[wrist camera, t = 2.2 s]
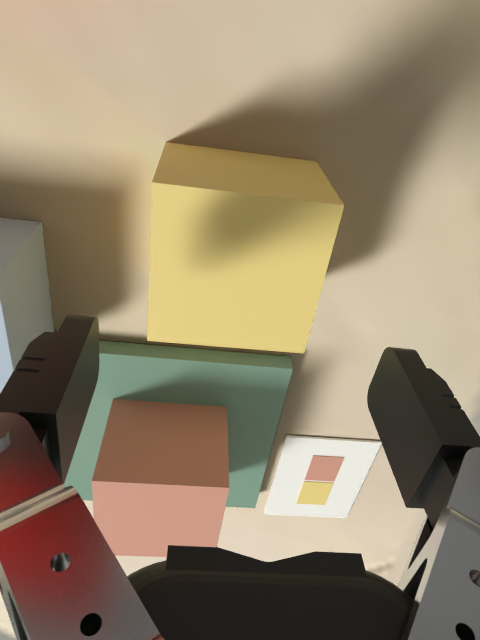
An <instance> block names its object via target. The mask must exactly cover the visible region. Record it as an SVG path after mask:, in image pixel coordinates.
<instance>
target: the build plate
mask: <svg viewBox="0 0 480 640" xmlns="http://www.w3.org/2000/svg"><path fill="white" fill-rule="evenodd" d="M292 371H293V366H292V362H291V357H289V356H277V355H265V354H254V353H242V352H230V351H218V350H207V349H195V348H183V347H172V346H160V345H148V344H137V343H125V342H113V341H101V340H99V375H98V381H97V385H96V388H95V391H94V394H93V397H92V400H91V403H90V406H89V409H88V413H87V416H86V419H85V422H84V425H83V428H82V431H81V434H80V437H79V440H78V443H77V446H76V449H75V452H74V455H73V458H72V461H71V464H70V467H69V471H68V474H67V477H66V480H65V483H64V485H65V486H66V487H68V486H73V487H74V488H75V489H76V490H77V492H78V493H79V495H80V497H81V498H82V500H91V501H93V493H92V478H93V474H94V470H95V466H96V463H97V459H98V455H99V451H100V447H101V443H102V439H103V435H104V432H105V428H106V424H107V420H108V416H109V412H110V408H111V404H112V401H113V399H122V400H136V401H151V402H165V403H179V404H193V405H207V406H221V407H227V424H228V458H229V492H228V497H227V501H226V506H225V507H246V508H255V506H256V502H257V499H258V495H259V492H260V488H261V484H262V481H263V477H264V473H265V470H266V466H267V462H268V459H269V455H270V451H271V448H272V444H273V440H274V437H275V433H276V430H277V426H278V422H279V419H280V415H281V411H282V408H283V404H284V400H285V397H286V393H287V389H288V386H289V382H290V378H291V375H292Z"/></svg>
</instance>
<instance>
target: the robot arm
mask: <svg viewBox="0 0 480 640" xmlns="http://www.w3.org/2000/svg"><path fill="white" fill-rule="evenodd" d="M98 375H99V325H98V319H97V318H96V317H86V316H76V315H67V316H66V318H65V320H64V322H63V324H62V326H61V328H60V330H59V332H58V333H55V332H43V333H42V334H41V335H39V336H38V337H37V338H35V339H34V340H33V341H31V342H30V343H29V344H28V346H27V348H26V350H25V351H24V353H23V355H22V358H21V359H20V360H19V362H18V364H17V365H16V367H15V371H13V372H12V374H11V376H10V378H9V379H8V381H7V383H6V385H5V386H4V388H3V390H2V392H1V393H0V592H1V595H2V598H3V600H4V603H5V606H6V609H7V612H8V615H9V618H10V621H11V624H12V627H13V630H14V633H15V636H16V638H17V640H480V437H479V435H478V433H477V432H476V430H475V428H474V427H473V425H472V424H471V422H470V420H469V419H468V417H467V415H466V414H465V412H464V411H463V410H461V406H460V404H459V403H458V401H457V399H456V398H454V394H453V393H452V391H451V390H450V388H449V386H448V385H447V383H446V382H445V381H444V380H443V379H442V378H441V377H440V376H439V375H438V374H437V373H435V372H434V371H433V370H432V369H429V368H426V366H425V365H424V363H423V361H422V360H421V358H420V356H419V354H418V353H417V351H415V350H412V349H402V348H392V347H388V348H386V349H385V350H384V352H383V354H382V356H381V359H380V361H379V364H378V366H377V369H376V371H375V374H374V376H373V379H372V381H371V384H370V386H369V389H368V396H367V401H368V408H369V411H370V413H371V416H372V419H373V421H374V424H375V427H376V429H377V432H378V435H379V437H380V440H381V442H382V445H383V448H384V450H385V453H386V456H387V458H388V461H389V463H390V466H391V469H392V471H393V474H394V477H395V479H396V482H397V484H398V487H399V490H400V492H401V495H402V498H403V500H404V503H405V505H406V507H407V508H424V509H425V512H426V514H427V516H426V518H425V520H424V521H423V523H422V525H421V528H420V530H419V533H418V535H417V538H416V541H415V543H414V546H413V548H412V551H411V553H410V556H409V558H408V561H407V564H406V566H405V569H404V572H403V574H402V576H401V579H400V581H399V583H398V585H397V586H396V585H394V584H393V583H391V582H389V581H388V580H386V579H384V578H382V577H381V576H378V575H376V574H374V573H372V572H369V571H366V570H365V567H364V563H363V559H362V556H361V554H357V553H335V552H312V553H307V554H303V555H299V556H295V557H291V558H286V559H282V560H278V561H274V562H264V561H260V560H257V559H254V558H251V557H247V556H244V555H241V554H237V553H234V552H231V551H228V550H224V549H221V548H218V547H199V546H176V545H168V550H167V559H166V561H162V562H158V563H154V564H152V565H149V566H146V567H144V568H142V569H140V570H138V571H136V572H134V573H132V574H130V575H129V576H126V574H125V572H124V571H123V569H122V567H121V566H120V564H119V562H118V560H117V559H116V557H115V555H114V553H113V552H112V550H111V548H110V547H109V545H108V543H107V541H106V540H105V538H104V536H103V535H102V533H101V531H100V529H99V528H98V526H97V524H96V522H95V521H94V519H93V517H92V516H91V514H90V512H89V510H88V509H87V507H86V505H85V503H84V502H83V500H82V498H81V497H80V495H79V493H78V492H77V490H76V489H75V488H74V487H73V486H68V487H66V486H65V485H64V483H65V480H66V477H67V474H68V471H69V467H70V464H71V461H72V458H73V455H74V452H75V449H76V446H77V443H78V440H79V437H80V434H81V431H82V428H83V425H84V422H85V419H86V416H87V413H88V409H89V406H90V403H91V400H92V397H93V394H94V391H95V388H96V385H97V381H98Z"/></svg>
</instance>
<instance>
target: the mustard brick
mask: <svg viewBox="0 0 480 640" xmlns="http://www.w3.org/2000/svg"><path fill="white" fill-rule="evenodd" d="M344 206H345V205H344V204H343V202H342V201H341V199H340V197H339V196H338V194H337V193H336V191H335V190H334V188H333V186H332V185H331V183H330V182H329V180H328V179H327V177H326V176H325V174H324V172H323V171H322V169H321V168H320V166H319V165H318V163H317V161H310V160H302V159H294V158H287V157H279V156H271V155H263V154H256V153H248V152H240V151H233V150H225V149H217V148H210V147H202V146H194V145H187V144H179V143H171V142H166V144H165V147H164V149H163V152H162V155H161V158H160V161H159V164H158V166H157V169H156V172H155V175H154V178H153V181H152V197H151V232H150V266H149V301H148V335H147V341H156V342H168V343H181V344H193V345H205V346H218V347H230V348H243V349H255V350H268V351H280V352H293V353H304V351H305V347H306V344H307V340H308V337H309V333H310V329H311V326H312V322H313V318H314V315H315V311H316V307H317V304H318V300H319V297H320V293H321V289H322V286H323V282H324V278H325V275H326V271H327V267H328V264H329V260H330V257H331V253H332V249H333V246H334V242H335V238H336V235H337V231H338V227H339V224H340V220H341V217H342V213H343V209H344Z"/></svg>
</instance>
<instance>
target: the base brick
mask: <svg viewBox="0 0 480 640" xmlns="http://www.w3.org/2000/svg"><path fill="white" fill-rule="evenodd" d="M228 492H229V458H228V424H227V407H221V406H207V405H193V404H179V403H165V402H151V401H136V400H122V399H113V401H112V404H111V408H110V412H109V416H108V420H107V424H106V428H105V432H104V435H103V439H102V443H101V447H100V451H99V455H98V459H97V463H96V466H95V470H94V474H93V478H92V493H93V510H94V521H95V522H96V524H97V526H98V528H99V529H100V531H101V533H102V535H103V536H104V538H105V540H106V541H107V543H108V545H109V547H110V548H111V550H112V552H113V553H114V555H122V556H154V557H167V550H168V545H176V546H199V547H217V544H218V539H219V534H220V530H221V525H222V520H223V515H224V511H225V506H226V501H227V497H228Z"/></svg>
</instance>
